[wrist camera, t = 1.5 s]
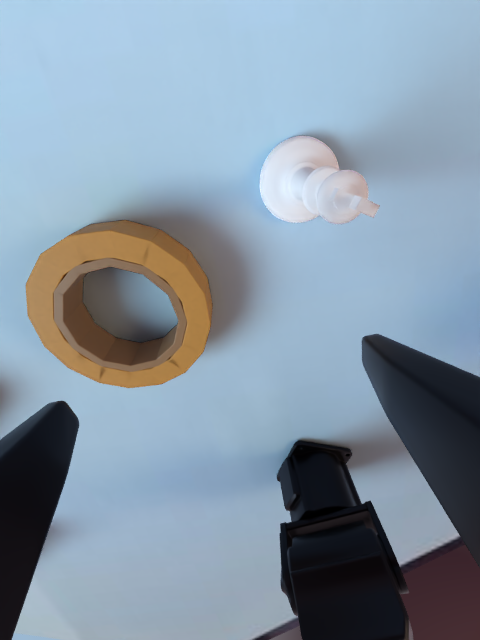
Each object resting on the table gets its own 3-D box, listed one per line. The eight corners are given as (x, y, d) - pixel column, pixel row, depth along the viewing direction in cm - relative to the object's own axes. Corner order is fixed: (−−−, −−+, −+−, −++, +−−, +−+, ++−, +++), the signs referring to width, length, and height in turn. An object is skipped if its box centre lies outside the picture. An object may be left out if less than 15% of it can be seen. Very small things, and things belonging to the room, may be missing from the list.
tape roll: (228, 247, 20) (228, 261, 18) (194, 374, 26) (190, 398, 23) (48, 199, 18) (19, 206, 16) (52, 347, 24) (31, 371, 21)
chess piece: (278, 121, 17) (335, 86, 8) (351, 154, 18) (472, 155, 9) (248, 207, 19) (268, 251, 10) (315, 232, 20) (384, 291, 11)
